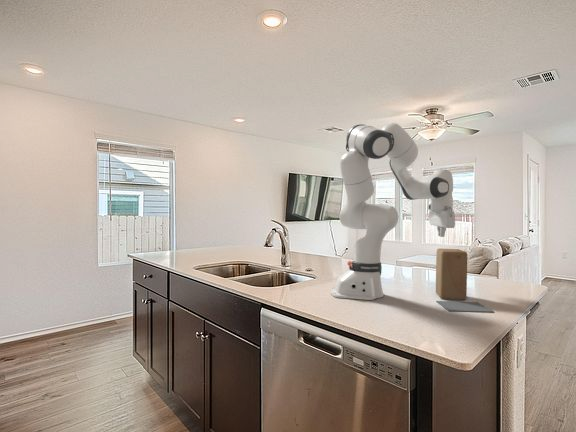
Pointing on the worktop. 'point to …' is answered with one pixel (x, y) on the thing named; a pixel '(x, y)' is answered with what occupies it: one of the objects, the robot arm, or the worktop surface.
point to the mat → (464, 306)
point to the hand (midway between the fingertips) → (441, 236)
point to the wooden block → (451, 274)
